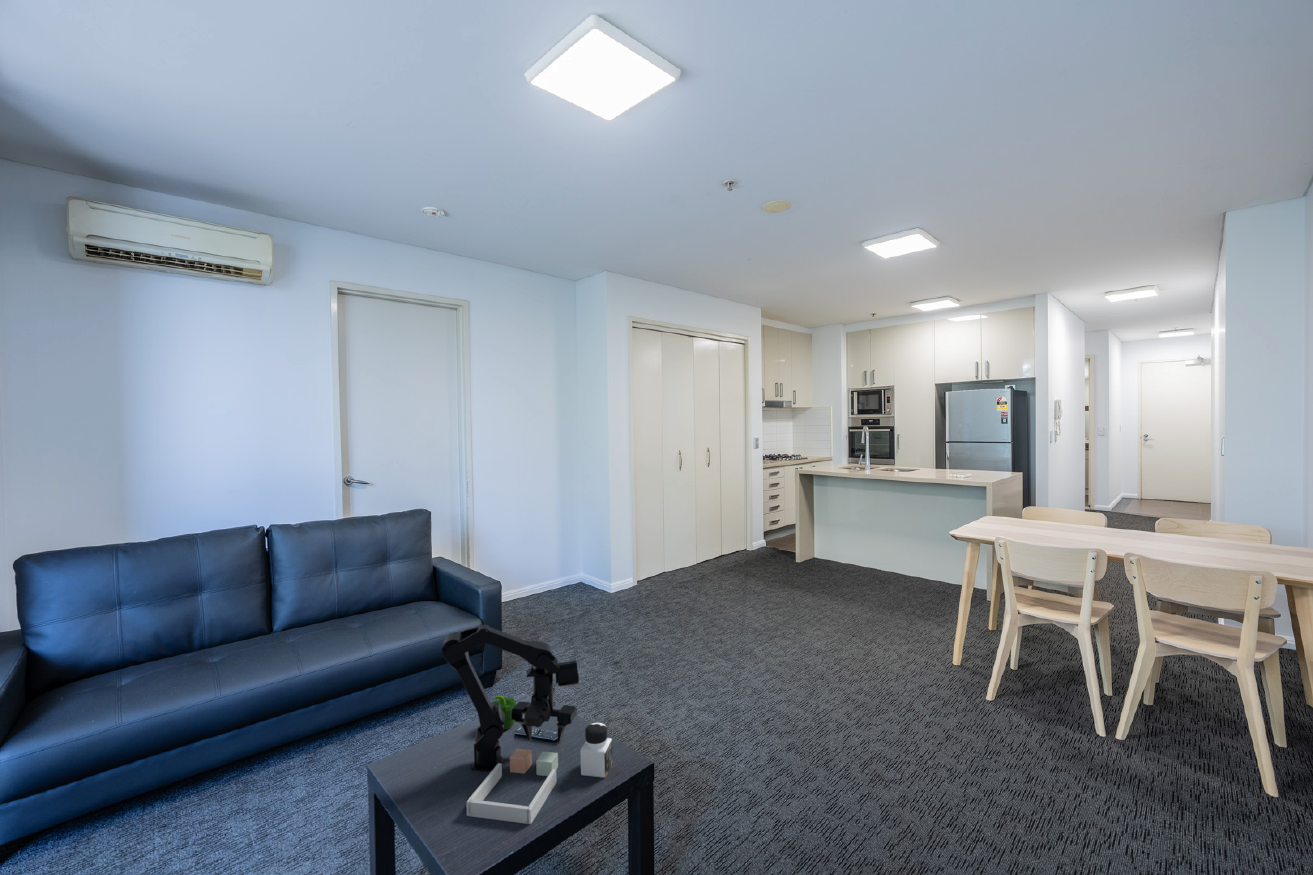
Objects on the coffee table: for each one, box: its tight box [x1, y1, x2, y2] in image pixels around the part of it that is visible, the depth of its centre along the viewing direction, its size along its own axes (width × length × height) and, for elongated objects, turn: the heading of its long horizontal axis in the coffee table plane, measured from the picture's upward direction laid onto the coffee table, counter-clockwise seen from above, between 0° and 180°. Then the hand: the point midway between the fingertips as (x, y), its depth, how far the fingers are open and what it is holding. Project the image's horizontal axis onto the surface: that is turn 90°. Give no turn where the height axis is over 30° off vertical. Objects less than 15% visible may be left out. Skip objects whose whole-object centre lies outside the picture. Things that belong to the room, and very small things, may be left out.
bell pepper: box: [491, 695, 517, 730], centre depth 176 cm, size 8×8×10 cm
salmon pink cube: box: [509, 748, 533, 774], centre depth 153 cm, size 4×4×4 cm
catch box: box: [466, 762, 557, 825], centre depth 140 cm, size 17×16×4 cm
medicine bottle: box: [579, 722, 613, 779], centre depth 151 cm, size 7×7×12 cm
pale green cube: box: [535, 751, 559, 777], centre depth 151 cm, size 4×4×4 cm
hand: (544, 741), depth 159 cm, fingers open, 9 cm apart
